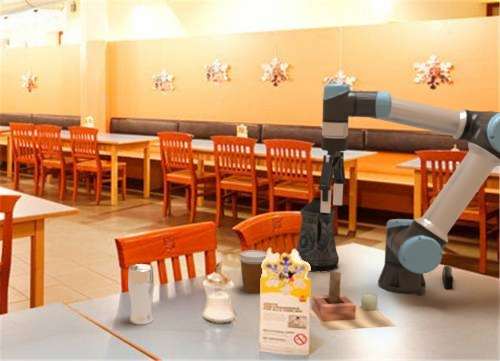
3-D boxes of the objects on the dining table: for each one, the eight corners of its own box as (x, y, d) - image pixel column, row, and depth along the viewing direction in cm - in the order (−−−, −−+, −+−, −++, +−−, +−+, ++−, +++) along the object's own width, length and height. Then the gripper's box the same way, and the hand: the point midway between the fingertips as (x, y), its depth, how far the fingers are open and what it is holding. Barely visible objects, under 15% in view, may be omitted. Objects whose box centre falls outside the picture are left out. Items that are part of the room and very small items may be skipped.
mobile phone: (454, 276, 201) (450, 263, 216) (445, 276, 202) (441, 262, 216) (453, 291, 202) (449, 277, 217) (444, 290, 203) (440, 276, 217)
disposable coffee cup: (265, 296, 192) (266, 258, 190) (235, 293, 194) (236, 256, 192) (270, 287, 201) (271, 251, 199) (241, 284, 203) (242, 248, 201)
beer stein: (316, 257, 238) (318, 193, 235) (353, 269, 223) (357, 201, 220) (283, 264, 228) (285, 197, 225) (321, 277, 213) (323, 205, 209)
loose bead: (372, 305, 183) (373, 292, 182) (379, 310, 179) (379, 297, 178) (358, 306, 182) (359, 293, 181) (364, 311, 178) (365, 298, 177)
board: (372, 308, 183) (373, 292, 182) (396, 329, 167) (397, 311, 166) (307, 312, 178) (307, 295, 178) (325, 333, 163) (326, 315, 162)
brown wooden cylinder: (336, 312, 176) (338, 271, 175) (340, 315, 174) (342, 274, 172) (326, 312, 176) (328, 271, 174) (329, 316, 173) (332, 274, 171)
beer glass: (158, 318, 172) (158, 265, 169) (146, 327, 165) (146, 272, 163) (136, 314, 174) (136, 262, 172) (123, 323, 167) (123, 269, 165)
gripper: (333, 134, 194) (330, 200, 197) (309, 139, 171) (306, 214, 174) (357, 135, 191) (354, 203, 194) (336, 140, 168) (332, 217, 171)
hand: (331, 208), depth 184 cm, fingers open, 13 cm apart
